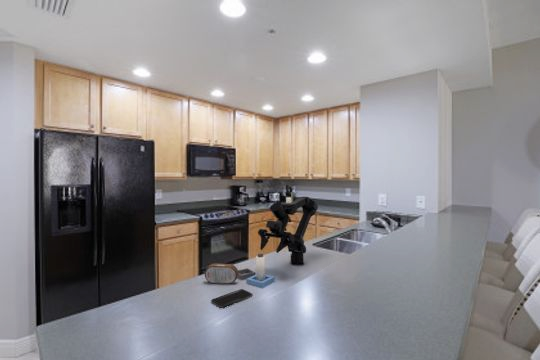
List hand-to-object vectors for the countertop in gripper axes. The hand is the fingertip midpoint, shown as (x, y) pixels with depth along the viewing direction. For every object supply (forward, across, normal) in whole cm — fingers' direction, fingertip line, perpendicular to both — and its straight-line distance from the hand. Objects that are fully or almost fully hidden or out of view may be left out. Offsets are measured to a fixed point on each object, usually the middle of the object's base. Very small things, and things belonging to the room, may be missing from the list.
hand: (268, 251), depth 121 cm
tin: (+21, -14, -3) cm, 26 cm away
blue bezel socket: (+14, 0, +4) cm, 14 cm away
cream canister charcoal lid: (+13, 0, +4) cm, 14 cm away
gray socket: (+12, -11, +6) cm, 18 cm away
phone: (+27, +1, -9) cm, 29 cm away
